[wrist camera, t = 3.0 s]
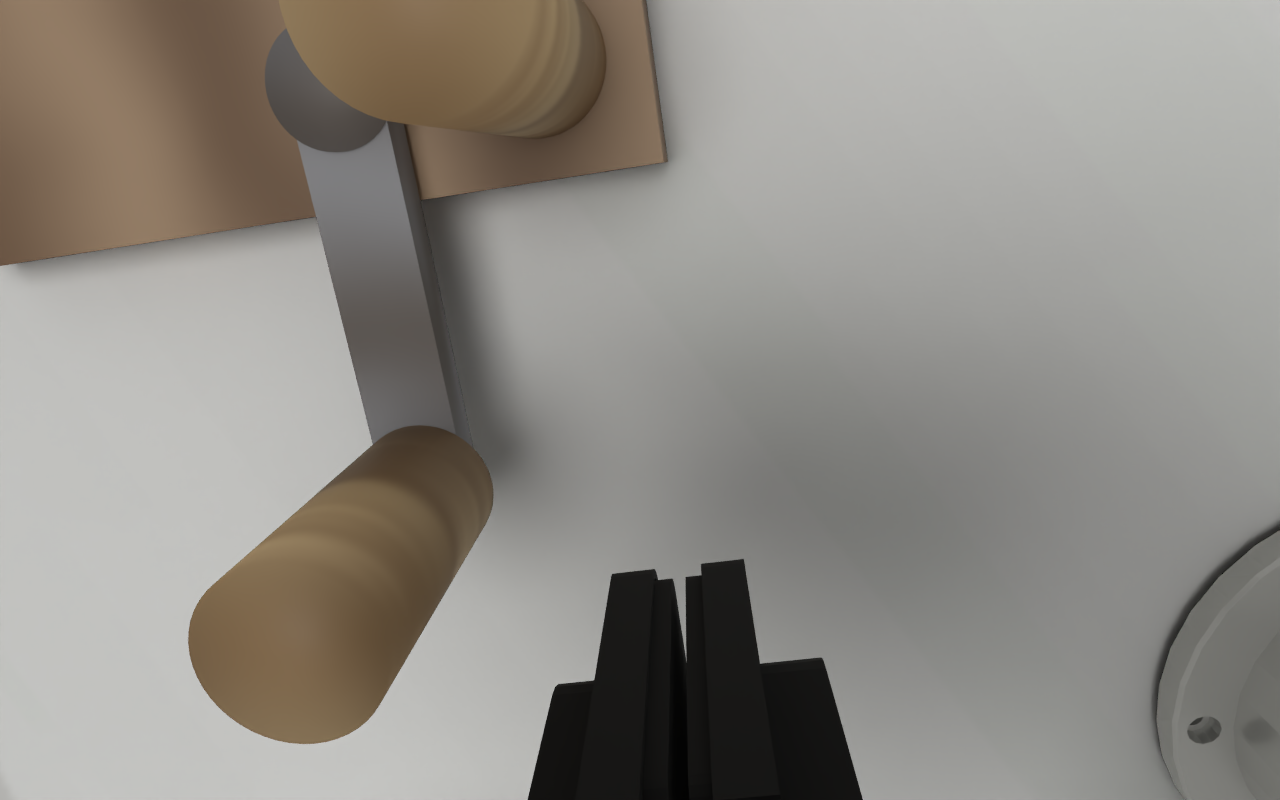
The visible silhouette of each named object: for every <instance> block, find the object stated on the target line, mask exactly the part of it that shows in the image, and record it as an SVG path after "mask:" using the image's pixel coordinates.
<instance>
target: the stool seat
mask: <svg viewBox="0 0 1280 800" xmlns="http://www.w3.org/2000/svg"><path fill="white" fill-rule="evenodd" d="M286 28H287V31H288V33H289V35H290V38H291V40H292V42H293V44H294V46H295V48H296V49H297V51H298V53H299V55H300V56H301V58H302V60H303V61H304V62H305V64H306V65H307V67H308V68H309V69H310V71H311V72H312V73H313V75H314V76H315V77H316V78H317V79H318V80H319V81H320V82H321V83H322V84H323V85H324V86H325V87H326V88H327V89H328V90H329V91H331V92H332V93H333V94H334V95H335V96H336V97H338V98H339V99H340V100H342V101H344V102H345V103H347V104H348V105H350V106H351V107H353V108H355V109H357V110H359V111H361V112H363V113H365V114H367V115H370V116H373V117H376V118H379V119H382V120H386V121H391V122H396V123H403V124H404V128H405V132H406V137H407V142H408V146H409V151H410V156H411V160H412V165H413V169H414V174H415V179H416V183H417V188H418V193H419V197H420V200H426V199H432V198H439V197H445V196H452V195H458V194H465V193H471V192H477V191H484V190H490V189H497V188H503V187H509V186H516V185H522V184H529V183H535V182H542V181H548V180H554V179H561V178H567V177H574V176H580V175H586V174H593V173H599V172H606V171H612V170H619V169H625V168H631V167H638V166H644V165H651V164H657V163H664V162H668V159H667V152H666V144H665V137H664V130H663V122H662V115H661V107H660V100H659V93H658V85H657V78H656V70H655V63H654V56H653V48H652V41H651V33H650V26H649V19H648V11H647V4H646V0H0V266H2V265H9V264H15V263H22V262H28V261H34V260H41V259H47V258H54V257H60V256H67V255H73V254H79V253H86V252H92V251H99V250H105V249H111V248H118V247H124V246H131V245H137V244H144V243H150V242H156V241H163V240H169V239H176V238H182V237H189V236H195V235H201V234H208V233H214V232H221V231H227V230H233V229H240V228H246V227H253V226H259V225H266V224H272V223H278V222H285V221H291V220H298V219H304V218H310V217H316V214H315V210H314V206H313V202H312V198H311V194H310V190H309V186H308V182H307V178H306V174H305V170H304V166H303V162H302V158H301V154H300V150H299V146H298V142H297V140H296V139H295V138H294V137H293V136H291V135H290V134H289V133H288V132H287V131H286V130H285V129H284V128H283V126H282V125H281V124H280V122H279V121H278V120H277V118H276V116H275V114H274V113H273V111H272V108H271V106H270V104H269V100H268V97H267V93H266V88H265V66H266V61H267V57H268V54H269V51H270V49H271V47H272V45H273V43H274V42H275V40H276V39H277V37H278V36H279V35H280V34H281V33H282V31H284V30H285V29H286Z"/></svg>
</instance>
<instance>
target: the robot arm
mask: <svg viewBox="0 0 1280 800" xmlns="http://www.w3.org/2000/svg"><path fill="white" fill-rule="evenodd" d="M701 572H702V575H701V576H692V577H686V650H687V663H686V657H685V650H684V644H683V637H682V631H681V624H680V618H679V612H678V605H677V599H676V592H675V586H674V582H673V579H665V580H658V578H657V574H656V571H655V569H652V570H643V571H634V572H625V573H616V574H612V576H611V582H610V588H609V594H608V600H607V606H606V612H605V619H604V625H603V631H602V637H601V643H600V649H599V656H598V662H597V668H596V674H595V680H594V681H586V682H576V683H566V684H558V685H557V686H556V687H555V689H554V692H553V695H552V699H551V703H550V707H549V711H548V716H547V720H546V724H545V728H544V733H543V737H542V741H541V745H540V750H539V754H538V758H537V762H536V767H535V771H534V775H533V779H532V784H531V788H530V792H529V796H528V800H863V799H862V795H861V792H860V788H859V785H858V781H857V778H856V774H855V770H854V767H853V763H852V760H851V756H850V753H849V749H848V745H847V742H846V738H845V735H844V731H843V728H842V724H841V721H840V717H839V713H838V710H837V706H836V703H835V699H834V696H833V692H832V688H831V685H830V681H829V678H828V674H827V671H826V667H825V664H824V661H823V659H822V658H813V659H803V660H793V661H783V662H773V663H763V664H760V661H759V655H758V648H757V642H756V635H755V629H754V623H753V616H752V610H751V603H750V597H749V590H748V584H747V577H746V571H745V564H744V559H740V560H732V561H723V562H714V563H705V564H701ZM1156 721H1157V728H1158V734H1159V740H1160V747H1161V753H1162V756H1163V759H1164V761H1165V763H1166V766H1167V768H1168V771H1169V773H1170V775H1171V778H1172V780H1173V782H1174V785H1175V787H1176V788H1177V789H1178V791H1179V792H1180V793H1181V795H1182V796H1183V798H1184V799H1185V800H1280V530H1279V531H1278V532H1276V533H1274V534H1273V535H1271V536H1270V537H1268V538H1266V539H1265V540H1263V541H1262V542H1260V543H1258V544H1257V545H1255V546H1254V547H1253V548H1252V549H1251V550H1249V551H1248V552H1247V553H1246V554H1245V555H1244V556H1242V557H1241V558H1240V559H1239V560H1238V561H1237V562H1236V563H1234V564H1233V565H1232V566H1231V567H1230V568H1229V569H1227V570H1226V571H1225V572H1224V573H1223V574H1222V575H1221V576H1219V578H1218V579H1217V580H1216V581H1215V582H1214V584H1213V585H1212V586H1211V587H1210V588H1209V590H1208V591H1207V592H1206V593H1205V595H1204V596H1203V597H1202V598H1201V599H1200V601H1199V602H1198V603H1197V604H1196V605H1195V607H1194V608H1193V609H1192V610H1191V612H1190V614H1189V615H1188V617H1187V619H1186V621H1185V623H1184V624H1183V626H1182V628H1181V630H1180V632H1179V633H1178V635H1177V637H1176V639H1175V641H1174V643H1173V644H1172V646H1171V648H1170V652H1169V655H1168V658H1167V661H1166V664H1165V668H1164V671H1163V674H1162V677H1161V680H1160V684H1159V694H1158V706H1157V719H1156Z"/></svg>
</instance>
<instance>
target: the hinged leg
mask: <svg viewBox="0 0 1280 800" xmlns="http://www.w3.org/2000/svg"><path fill="white" fill-rule="evenodd" d="M265 88H266V93H267V97H268V100H269V104H270V106H271V108H272V111H273V113H274V114H275V116H276V118H277V120H278V121H279V122H280V124H281V125H282V126H283V128H284V129H285V130H286V131H287V132H288V133H289V134H290V135H291V136H293V137H294V138H295V139H296V140H297V142H298V146H299V150H300V154H301V158H302V162H303V166H304V170H305V174H306V178H307V182H308V186H309V190H310V194H311V198H312V202H313V206H314V210H315V214H316V218H317V222H318V226H319V230H320V234H321V238H322V242H323V246H324V250H325V254H326V258H327V262H328V267H329V271H330V275H331V279H332V283H333V287H334V291H335V295H336V299H337V303H338V307H339V311H340V315H341V319H342V323H343V327H344V331H345V335H346V339H347V343H348V347H349V351H350V355H351V359H352V363H353V367H354V371H355V375H356V379H357V383H358V387H359V391H360V395H361V399H362V403H363V407H364V411H365V415H366V419H367V423H368V427H369V431H370V435H371V439H372V443H373V445H372V446H371V447H370V448H369V449H368V450H366V451H365V452H364V453H363V454H362V455H361V456H360V457H358V458H357V459H356V460H355V461H354V462H353V463H352V464H350V465H349V466H348V467H347V468H346V469H345V470H344V471H342V472H341V473H340V474H339V475H338V476H337V477H336V478H334V479H333V480H332V481H331V482H330V483H329V484H328V485H326V486H325V487H324V488H323V489H322V490H321V491H320V492H318V493H317V494H316V495H315V496H314V497H313V498H312V499H310V500H309V501H308V502H307V503H306V504H305V505H304V506H303V507H301V508H300V509H299V510H298V511H297V512H296V513H295V514H293V515H292V516H291V517H290V518H289V519H288V520H287V521H285V522H284V523H283V524H282V525H281V526H280V527H279V528H277V529H276V530H275V531H274V532H273V533H272V534H271V535H269V536H268V537H267V538H266V539H265V540H264V541H263V542H261V543H260V544H259V545H258V546H257V547H256V548H255V549H253V550H252V551H251V552H250V553H249V554H248V555H247V556H245V557H244V558H243V559H242V560H241V561H240V562H239V563H237V564H236V565H235V566H234V567H233V568H232V569H231V570H229V571H228V572H227V573H226V574H225V575H224V576H223V577H221V578H220V579H219V580H218V581H217V582H216V583H215V584H213V585H212V586H211V587H210V588H209V589H208V590H207V591H206V592H205V594H204V595H203V596H202V598H201V599H200V600H199V602H198V604H197V606H196V608H195V610H194V612H193V615H192V618H191V621H190V627H189V638H188V644H189V652H190V657H191V661H192V665H193V668H194V670H195V673H196V675H197V678H198V679H199V681H200V683H201V685H202V687H203V688H204V690H205V691H206V693H207V694H208V695H209V697H210V698H211V699H212V700H213V701H214V703H215V704H216V705H217V706H218V707H219V708H220V709H221V710H222V711H223V712H225V713H226V714H227V715H228V716H229V717H230V718H232V719H233V720H235V721H236V722H237V723H239V724H240V725H242V726H244V727H246V728H247V729H249V730H251V731H253V732H255V733H257V734H260V735H262V736H265V737H268V738H271V739H274V740H278V741H283V742H288V743H298V744H314V743H321V742H327V741H331V740H335V739H338V738H340V737H343V736H345V735H347V734H349V733H351V732H353V731H354V730H356V729H358V728H359V727H360V726H361V725H363V724H364V723H365V722H366V721H367V720H368V719H369V718H370V717H371V716H372V715H373V714H374V712H375V711H376V709H377V708H378V706H379V705H380V703H381V701H382V700H383V698H384V696H385V694H386V693H387V691H388V689H389V688H390V686H391V684H392V683H393V681H394V679H395V677H396V676H397V674H398V672H399V671H400V669H401V667H402V666H403V664H404V662H405V660H406V659H407V657H408V655H409V654H410V652H411V650H412V648H413V647H414V645H415V643H416V642H417V640H418V638H419V637H420V635H421V633H422V631H423V630H424V628H425V626H426V625H427V623H428V621H429V620H430V618H431V616H432V614H433V613H434V611H435V609H436V608H437V606H438V604H439V602H440V601H441V599H442V597H443V596H444V594H445V592H446V591H447V589H448V587H449V585H450V584H451V582H452V580H453V579H454V577H455V575H456V574H457V572H458V570H459V568H460V567H461V565H462V563H463V562H464V560H465V558H466V557H467V555H468V553H469V551H470V550H471V548H472V546H473V545H474V543H475V541H476V539H477V538H478V536H479V534H480V533H481V531H482V529H483V528H484V526H485V524H486V522H487V520H488V518H489V516H490V513H491V510H492V505H493V485H492V480H491V477H490V474H489V471H488V469H487V467H486V465H485V463H484V461H483V460H482V458H481V457H480V456H479V454H478V453H477V452H476V451H475V450H474V448H473V443H472V439H471V434H470V429H469V425H468V420H467V415H466V411H465V406H464V402H463V397H462V392H461V388H460V383H459V378H458V374H457V369H456V364H455V360H454V355H453V351H452V346H451V341H450V337H449V332H448V327H447V323H446V318H445V313H444V309H443V304H442V299H441V295H440V290H439V286H438V281H437V276H436V272H435V267H434V262H433V258H432V253H431V248H430V244H429V239H428V234H427V230H426V225H425V221H424V216H423V211H422V207H421V202H420V197H419V193H418V188H417V183H416V179H415V174H414V169H413V165H412V160H411V156H410V151H409V146H408V142H407V137H406V132H405V128H404V124H403V123H396V122H391V121H386V120H382V119H379V118H376V117H373V116H370V115H367V114H365V113H363V112H361V111H359V110H357V109H355V108H353V107H351V106H350V105H348V104H347V103H345V102H344V101H342V100H340V99H339V98H338V97H336V96H335V95H334V94H333V93H332V92H331V91H329V90H328V89H327V88H326V87H325V86H324V85H323V84H322V83H321V82H320V81H319V80H318V79H317V78H316V77H315V76H314V75H313V73H312V72H311V71H310V69H309V68H308V67H307V65H306V64H305V62H304V61H303V60H302V58H301V56H300V55H299V53H298V51H297V49H296V48H295V46H294V44H293V42H292V40H291V38H290V35H289V33H288V31H287V28H286V29H285V30H284V31H282V33H281V34H280V35H279V36H278V37H277V39H276V40H275V42H274V43H273V45H272V47H271V49H270V51H269V54H268V57H267V61H266V66H265Z"/></svg>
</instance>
